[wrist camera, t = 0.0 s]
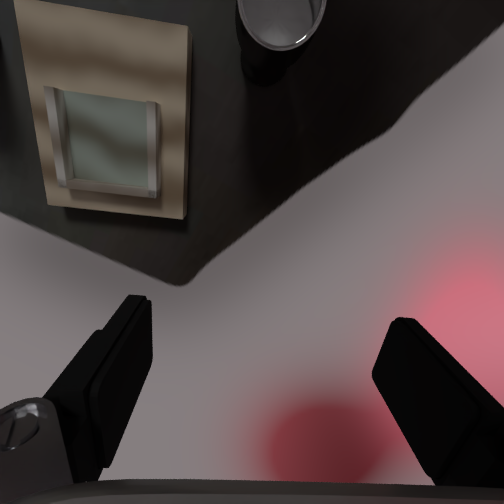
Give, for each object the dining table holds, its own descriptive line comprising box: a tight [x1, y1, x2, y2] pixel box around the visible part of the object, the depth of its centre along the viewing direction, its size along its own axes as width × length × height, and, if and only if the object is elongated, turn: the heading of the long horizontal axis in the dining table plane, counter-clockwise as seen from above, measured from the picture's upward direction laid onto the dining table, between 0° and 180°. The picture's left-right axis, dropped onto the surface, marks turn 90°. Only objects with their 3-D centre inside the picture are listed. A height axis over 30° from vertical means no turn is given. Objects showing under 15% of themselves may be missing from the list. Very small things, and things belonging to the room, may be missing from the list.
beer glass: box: [235, 0, 327, 87], centre depth 26 cm, size 7×7×15 cm
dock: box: [14, 0, 192, 219], centre depth 33 cm, size 22×18×5 cm
